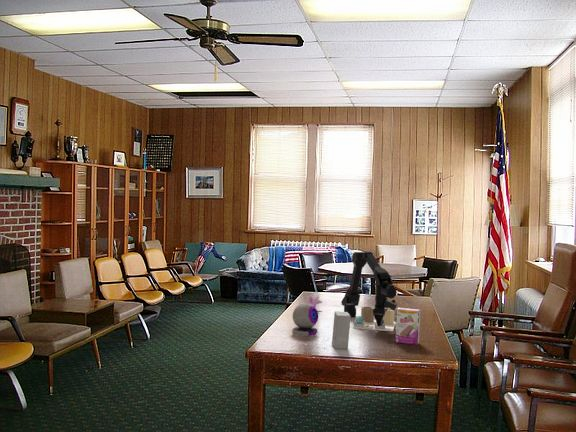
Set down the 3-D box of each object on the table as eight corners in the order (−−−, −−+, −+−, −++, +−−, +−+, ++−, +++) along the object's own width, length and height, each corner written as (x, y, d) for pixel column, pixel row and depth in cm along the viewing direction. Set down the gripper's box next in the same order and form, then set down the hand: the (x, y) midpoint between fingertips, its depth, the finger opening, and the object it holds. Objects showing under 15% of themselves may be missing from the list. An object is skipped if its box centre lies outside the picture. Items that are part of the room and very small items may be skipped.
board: (352, 328, 313) (353, 313, 313) (358, 319, 334) (359, 305, 334) (392, 331, 308) (393, 316, 308) (396, 323, 329) (396, 308, 329)
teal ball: (355, 324, 314) (355, 316, 314) (356, 322, 318) (356, 315, 318) (362, 324, 313) (362, 317, 313) (363, 323, 317) (363, 315, 317)
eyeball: (309, 337, 291) (310, 306, 290) (287, 333, 298) (288, 303, 297) (322, 332, 302) (322, 303, 301) (300, 328, 309) (301, 300, 308)
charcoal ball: (375, 325, 311) (376, 318, 311) (376, 324, 315) (376, 316, 315) (383, 326, 310) (383, 318, 310) (384, 324, 314) (384, 317, 314)
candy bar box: (394, 342, 284) (395, 309, 284) (396, 340, 289) (397, 307, 288) (418, 345, 281) (419, 311, 280) (419, 343, 285) (420, 309, 285)
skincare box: (331, 344, 278) (332, 310, 277) (346, 344, 278) (347, 311, 278) (334, 349, 269) (335, 314, 269) (349, 349, 270) (351, 314, 269)
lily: (325, 312, 359) (321, 297, 363) (322, 307, 348) (318, 292, 352) (306, 317, 361) (303, 302, 364) (302, 313, 350) (299, 297, 354)
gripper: (395, 299, 301) (394, 329, 301) (397, 293, 319) (396, 322, 319) (373, 297, 304) (372, 327, 304) (377, 291, 322) (376, 320, 322)
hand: (380, 324), depth 312 cm, fingers open, 9 cm apart
